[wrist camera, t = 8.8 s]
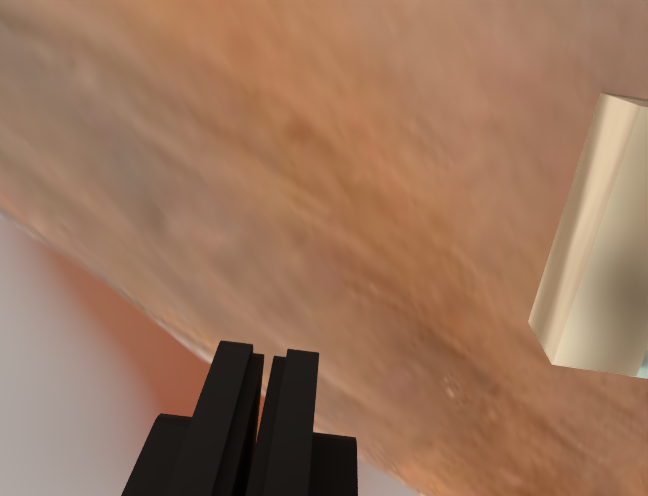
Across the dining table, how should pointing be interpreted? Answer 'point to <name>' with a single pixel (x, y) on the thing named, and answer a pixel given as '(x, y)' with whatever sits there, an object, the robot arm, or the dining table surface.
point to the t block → (601, 250)
